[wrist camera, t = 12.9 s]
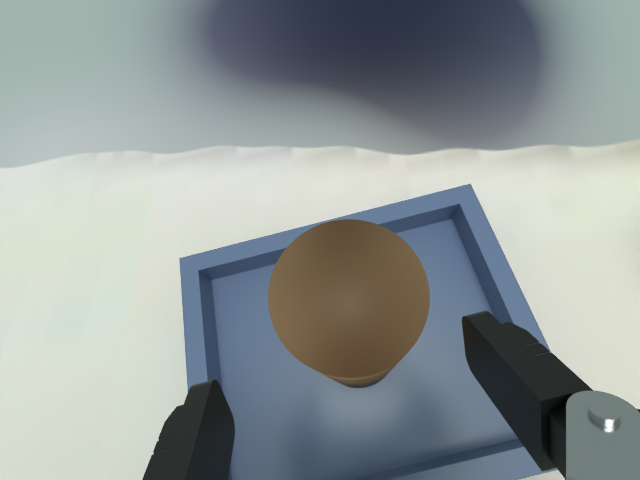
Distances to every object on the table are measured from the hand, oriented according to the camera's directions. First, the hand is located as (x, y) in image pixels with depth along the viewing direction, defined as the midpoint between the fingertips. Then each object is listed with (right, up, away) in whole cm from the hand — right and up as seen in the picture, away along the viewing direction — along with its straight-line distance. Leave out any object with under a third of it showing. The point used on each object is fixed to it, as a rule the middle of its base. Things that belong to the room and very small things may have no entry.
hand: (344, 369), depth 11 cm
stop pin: (+2, -3, +11) cm, 11 cm away
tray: (+2, -3, +12) cm, 12 cm away
